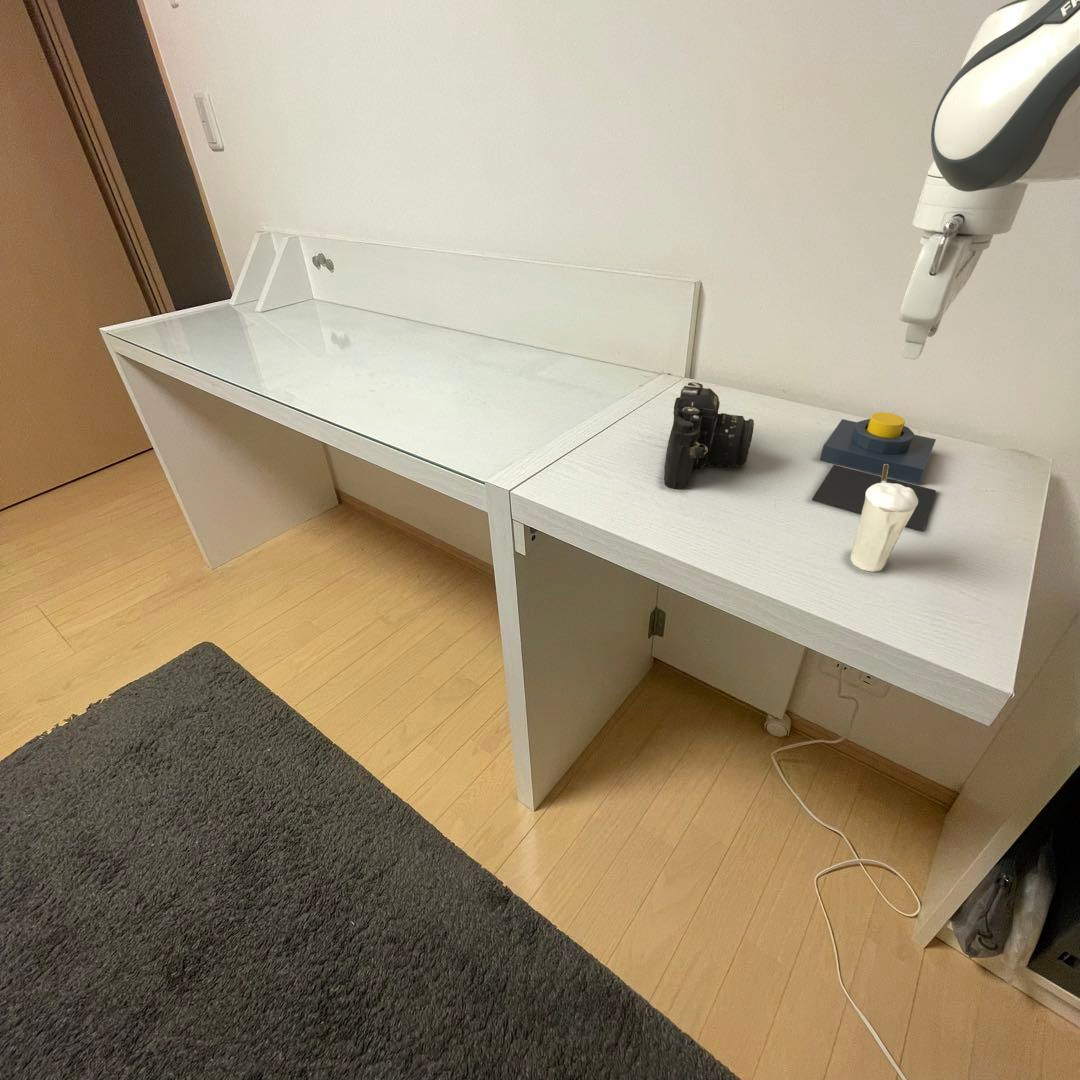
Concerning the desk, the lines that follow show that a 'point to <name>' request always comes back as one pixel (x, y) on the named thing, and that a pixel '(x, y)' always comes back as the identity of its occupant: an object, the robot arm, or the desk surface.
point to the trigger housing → (878, 451)
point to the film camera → (703, 436)
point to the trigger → (886, 425)
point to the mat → (850, 491)
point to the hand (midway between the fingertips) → (918, 345)
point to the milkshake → (881, 522)
